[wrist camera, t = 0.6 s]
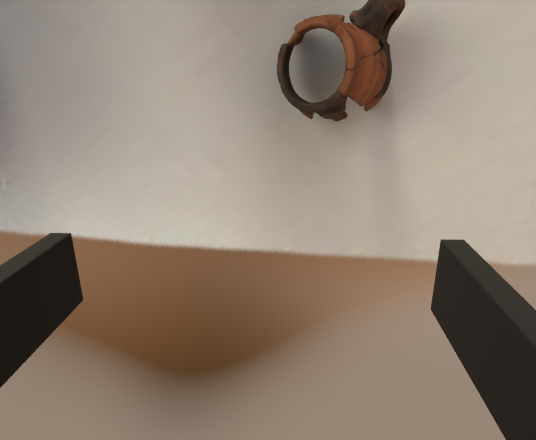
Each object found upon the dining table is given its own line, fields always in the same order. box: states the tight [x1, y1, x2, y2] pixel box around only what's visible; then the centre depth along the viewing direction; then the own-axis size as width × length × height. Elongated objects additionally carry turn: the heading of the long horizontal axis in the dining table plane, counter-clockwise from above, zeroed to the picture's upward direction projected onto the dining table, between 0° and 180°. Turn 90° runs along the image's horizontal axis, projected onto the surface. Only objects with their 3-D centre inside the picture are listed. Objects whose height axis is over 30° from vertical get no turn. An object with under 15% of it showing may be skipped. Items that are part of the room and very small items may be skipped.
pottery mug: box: [277, 0, 405, 121], centre depth 35 cm, size 12×10×8 cm
